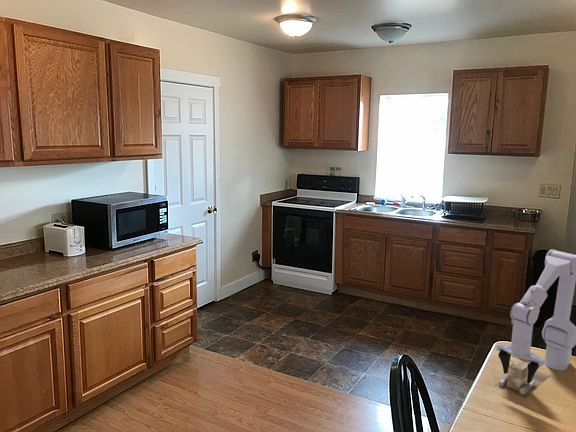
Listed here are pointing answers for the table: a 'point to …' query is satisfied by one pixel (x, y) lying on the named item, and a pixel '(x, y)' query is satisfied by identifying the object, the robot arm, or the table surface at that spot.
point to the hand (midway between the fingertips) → (517, 377)
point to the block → (517, 375)
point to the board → (527, 388)
